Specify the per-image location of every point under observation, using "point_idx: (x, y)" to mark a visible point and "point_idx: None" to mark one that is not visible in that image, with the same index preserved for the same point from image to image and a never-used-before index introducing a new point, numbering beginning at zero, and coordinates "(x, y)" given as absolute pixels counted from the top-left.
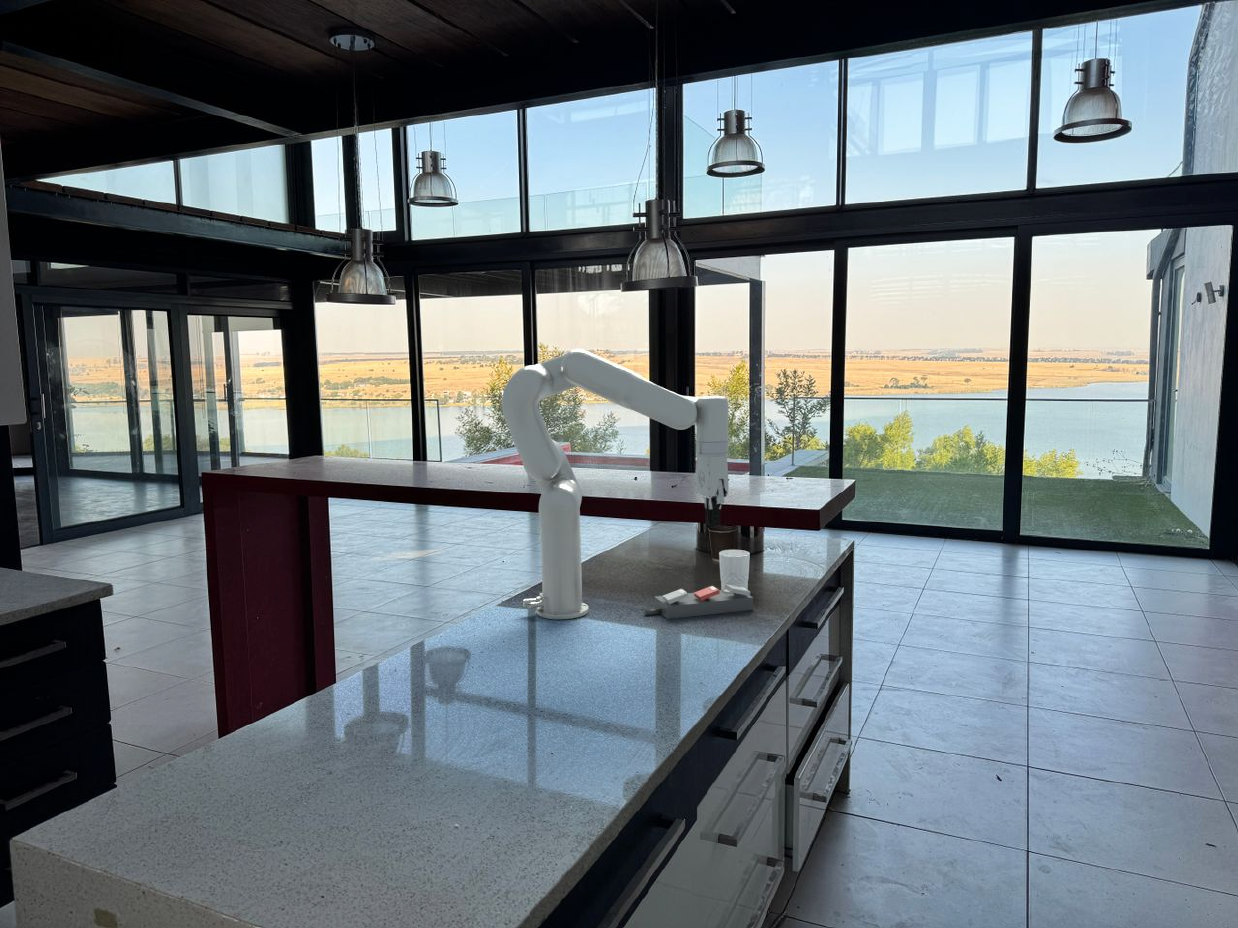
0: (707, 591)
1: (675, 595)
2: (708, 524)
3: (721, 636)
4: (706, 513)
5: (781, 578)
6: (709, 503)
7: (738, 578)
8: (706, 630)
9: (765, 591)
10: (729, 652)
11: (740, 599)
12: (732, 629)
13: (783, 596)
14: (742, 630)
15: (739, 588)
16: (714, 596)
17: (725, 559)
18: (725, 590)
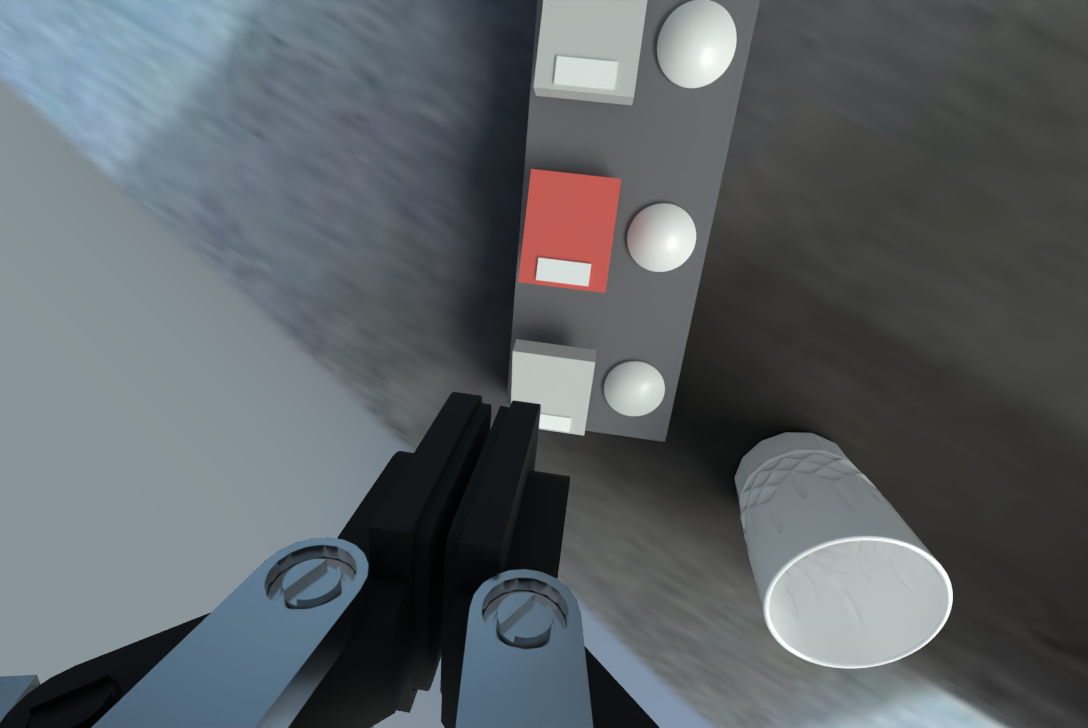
0: (557, 232)
1: (572, 18)
2: (452, 400)
3: (236, 95)
4: (479, 489)
5: (818, 684)
6: (263, 644)
7: (747, 503)
8: (325, 73)
9: (703, 556)
10: (46, 21)
11: (509, 363)
12: (309, 187)
13: (612, 566)
14: (288, 217)
15: (544, 398)
16: None
17: (825, 525)
18: (649, 374)
